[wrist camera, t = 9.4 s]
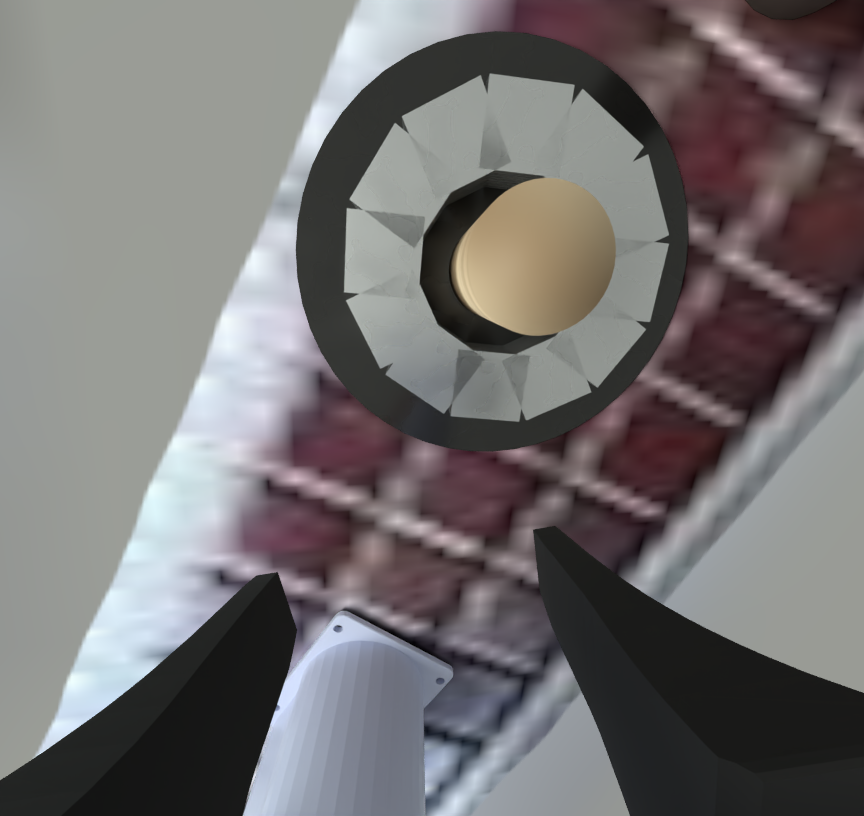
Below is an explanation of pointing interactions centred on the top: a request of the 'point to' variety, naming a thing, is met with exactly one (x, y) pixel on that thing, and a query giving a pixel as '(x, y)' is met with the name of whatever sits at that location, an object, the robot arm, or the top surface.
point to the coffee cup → (787, 7)
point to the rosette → (457, 211)
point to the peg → (535, 258)
